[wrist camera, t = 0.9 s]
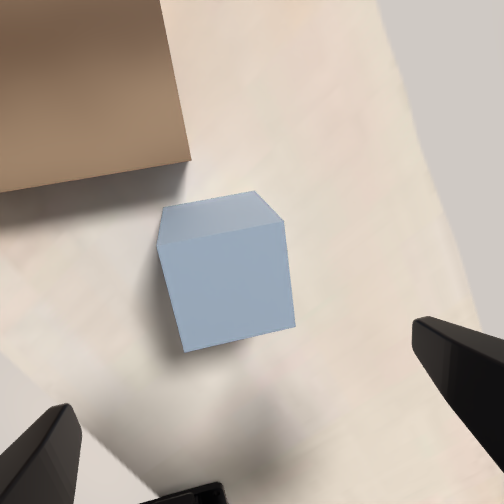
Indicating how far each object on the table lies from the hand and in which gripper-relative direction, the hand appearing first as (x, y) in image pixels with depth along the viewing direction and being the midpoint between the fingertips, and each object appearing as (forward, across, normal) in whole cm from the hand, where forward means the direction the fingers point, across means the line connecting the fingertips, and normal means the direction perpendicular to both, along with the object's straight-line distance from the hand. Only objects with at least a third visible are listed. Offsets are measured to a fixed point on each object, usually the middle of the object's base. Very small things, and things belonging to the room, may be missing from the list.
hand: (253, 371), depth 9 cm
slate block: (+10, 0, 0) cm, 10 cm away
